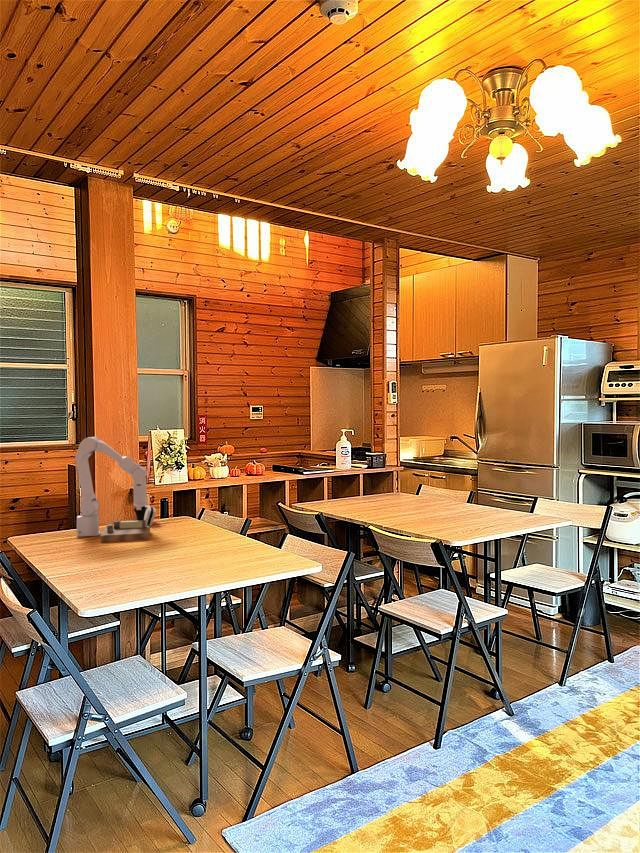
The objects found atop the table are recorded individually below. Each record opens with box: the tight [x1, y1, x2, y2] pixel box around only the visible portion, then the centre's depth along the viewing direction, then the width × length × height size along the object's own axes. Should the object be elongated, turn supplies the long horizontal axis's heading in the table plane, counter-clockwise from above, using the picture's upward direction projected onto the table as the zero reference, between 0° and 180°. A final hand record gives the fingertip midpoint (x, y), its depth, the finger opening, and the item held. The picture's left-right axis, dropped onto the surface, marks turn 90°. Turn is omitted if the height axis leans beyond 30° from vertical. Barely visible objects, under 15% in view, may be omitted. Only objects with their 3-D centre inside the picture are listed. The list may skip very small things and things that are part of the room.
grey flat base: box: [99, 523, 151, 543], centre depth 290 cm, size 20×18×6 cm
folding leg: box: [113, 520, 147, 529], centre depth 296 cm, size 14×3×3 cm, turn 101°
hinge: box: [144, 505, 157, 526], centre depth 324 cm, size 17×5×10 cm, turn 22°
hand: (140, 523), depth 299 cm, fingers closed
